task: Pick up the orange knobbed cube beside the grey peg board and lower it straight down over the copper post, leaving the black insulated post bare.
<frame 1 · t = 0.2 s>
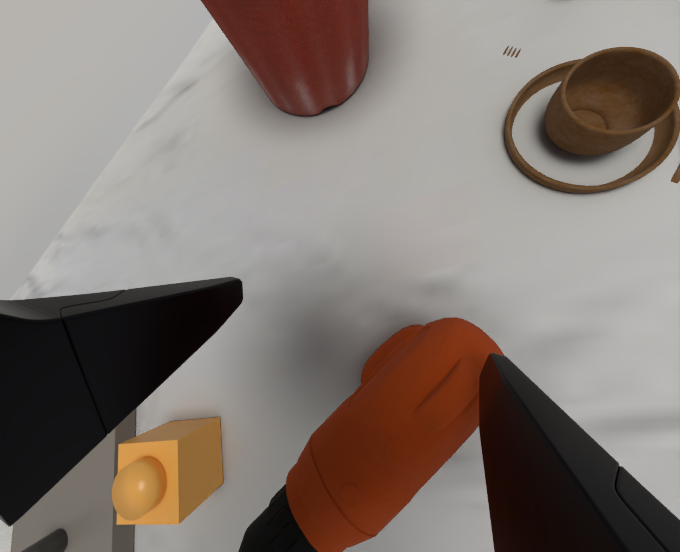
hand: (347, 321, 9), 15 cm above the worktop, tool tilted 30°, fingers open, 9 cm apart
orange knobbed cube: (195, 450, 25), on the worktop
grey peg board: (87, 457, 27), on the worktop
brown cup and saucer: (591, 98, 23), on the worktop
toy drill: (366, 400, 23), on the worktop
flower pot: (316, 70, 30), on the worktop
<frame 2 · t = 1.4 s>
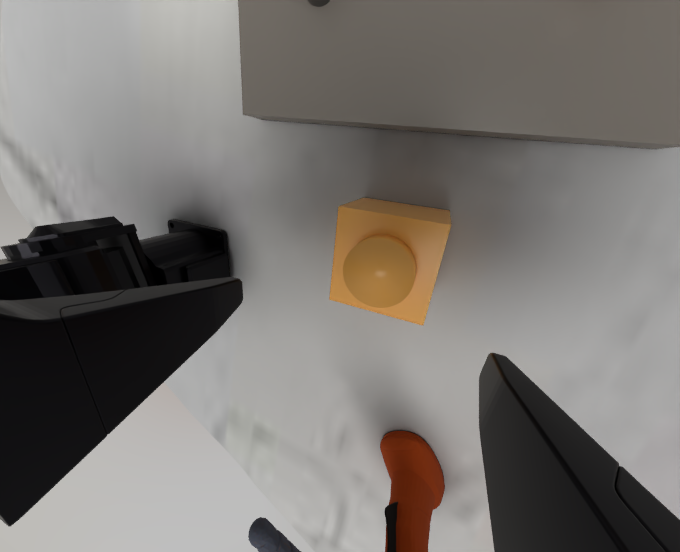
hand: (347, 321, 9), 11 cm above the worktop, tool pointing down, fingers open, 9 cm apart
orange knobbed cube: (396, 244, 18), on the worktop
toy drill: (394, 422, 25), on the worktop
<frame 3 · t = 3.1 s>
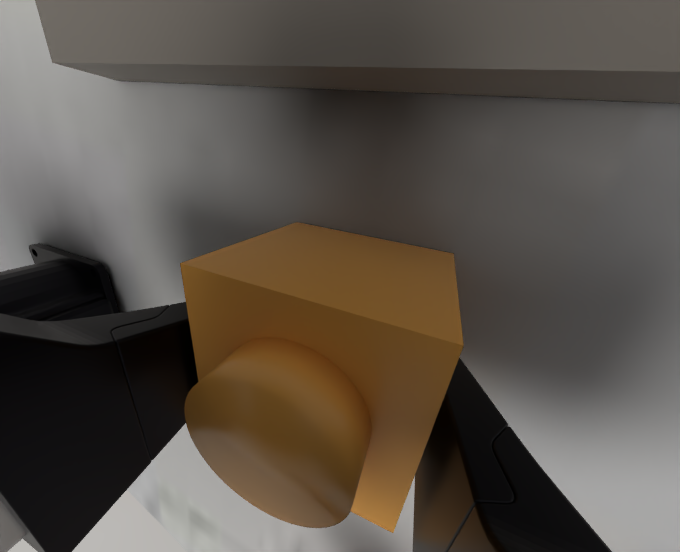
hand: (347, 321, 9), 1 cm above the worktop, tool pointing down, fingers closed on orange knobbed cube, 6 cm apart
orange knobbed cube: (357, 305, 10), on the worktop, touching gripper
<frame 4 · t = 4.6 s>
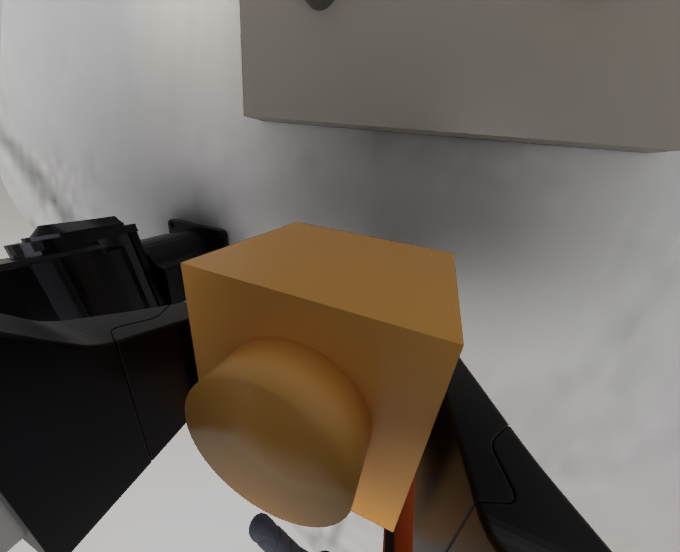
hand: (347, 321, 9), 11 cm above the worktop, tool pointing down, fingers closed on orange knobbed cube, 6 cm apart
orange knobbed cube: (357, 305, 10), point 10 cm above the worktop, touching gripper
grey peg board: (445, 0, 13), on the worktop
toy drill: (392, 421, 25), on the worktop
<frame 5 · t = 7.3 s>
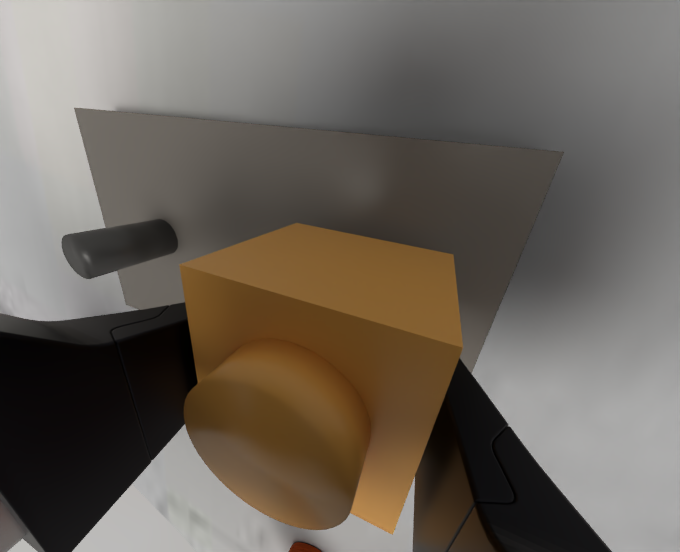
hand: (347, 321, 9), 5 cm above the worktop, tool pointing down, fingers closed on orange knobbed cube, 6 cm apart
orange knobbed cube: (357, 306, 10), point 4 cm above the worktop, touching gripper
grey peg board: (275, 249, 15), on the worktop
toy drill: (300, 534, 27), on the worktop
when the fingers open (5 cm above the worktop, at t = 7.9 s): orange knobbed cube drops 1 cm, resting on grey peg board.
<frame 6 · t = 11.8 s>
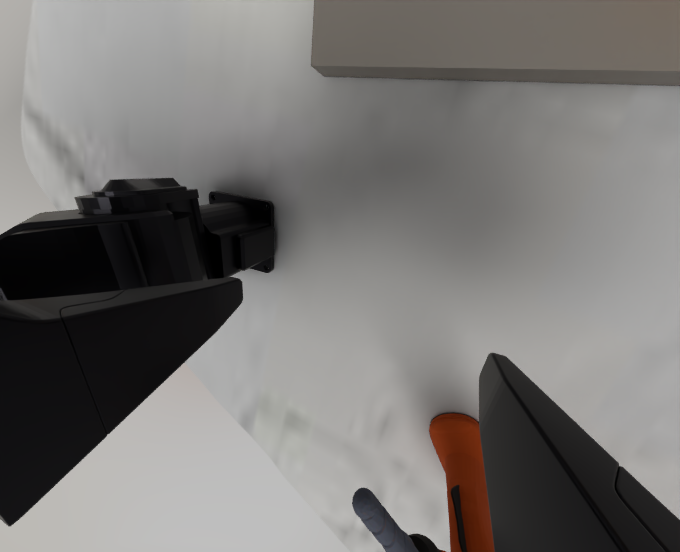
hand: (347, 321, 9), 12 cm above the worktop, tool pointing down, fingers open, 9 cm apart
toy drill: (445, 404, 24), on the worktop
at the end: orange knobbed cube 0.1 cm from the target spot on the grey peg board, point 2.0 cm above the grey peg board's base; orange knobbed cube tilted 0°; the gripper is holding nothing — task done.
